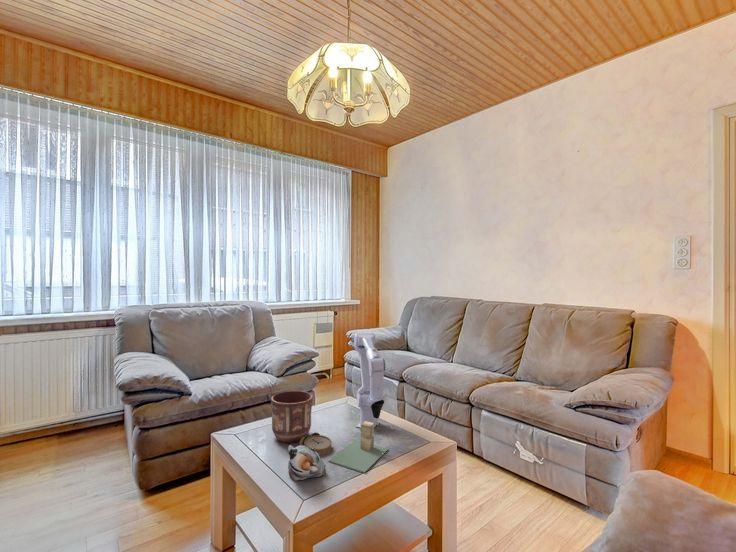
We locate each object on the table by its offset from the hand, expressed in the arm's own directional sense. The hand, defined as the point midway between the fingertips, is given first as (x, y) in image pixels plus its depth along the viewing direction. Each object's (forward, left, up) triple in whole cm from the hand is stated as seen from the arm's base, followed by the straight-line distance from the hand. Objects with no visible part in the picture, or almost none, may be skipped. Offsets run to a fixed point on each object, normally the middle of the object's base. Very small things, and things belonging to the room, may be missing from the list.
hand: (376, 417), depth 156 cm
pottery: (+15, -34, -11) cm, 39 cm away
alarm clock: (+18, -19, -11) cm, 28 cm away
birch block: (+8, 0, -10) cm, 13 cm away
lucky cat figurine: (+35, -9, -11) cm, 38 cm away
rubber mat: (+14, 0, -10) cm, 17 cm away
